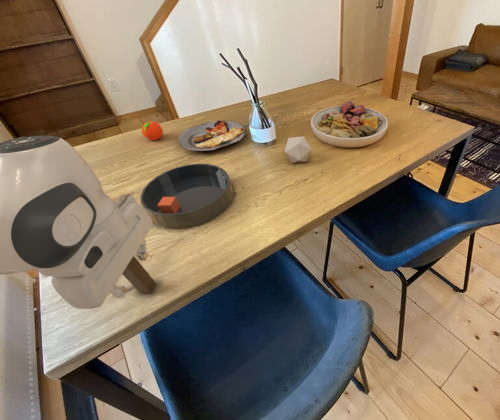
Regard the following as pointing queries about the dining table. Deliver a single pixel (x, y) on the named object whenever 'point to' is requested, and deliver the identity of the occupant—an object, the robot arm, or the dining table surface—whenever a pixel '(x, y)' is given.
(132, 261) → the stick
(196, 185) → the bowl
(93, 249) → the robot arm
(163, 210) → the block
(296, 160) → the die
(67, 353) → the dining table surface
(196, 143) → the food plate
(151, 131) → the clementine
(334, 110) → the bowl
